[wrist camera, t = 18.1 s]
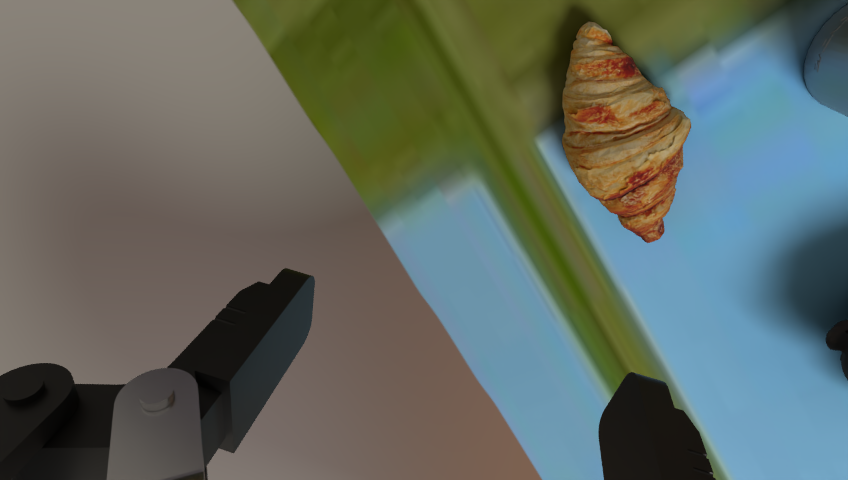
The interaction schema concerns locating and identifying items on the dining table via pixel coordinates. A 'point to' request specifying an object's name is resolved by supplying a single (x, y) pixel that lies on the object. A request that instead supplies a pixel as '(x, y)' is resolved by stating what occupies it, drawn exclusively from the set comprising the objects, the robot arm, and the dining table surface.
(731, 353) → the dining table surface
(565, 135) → the croissant
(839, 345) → the puffin
